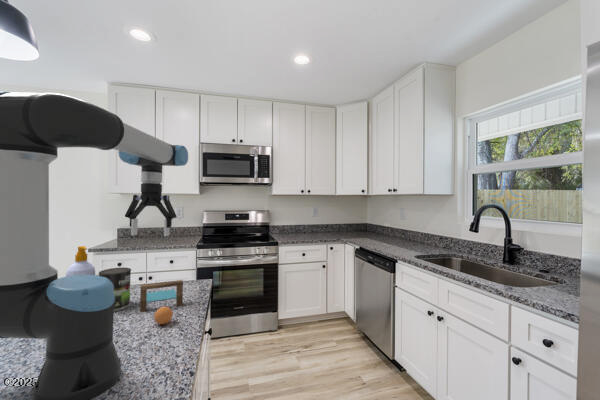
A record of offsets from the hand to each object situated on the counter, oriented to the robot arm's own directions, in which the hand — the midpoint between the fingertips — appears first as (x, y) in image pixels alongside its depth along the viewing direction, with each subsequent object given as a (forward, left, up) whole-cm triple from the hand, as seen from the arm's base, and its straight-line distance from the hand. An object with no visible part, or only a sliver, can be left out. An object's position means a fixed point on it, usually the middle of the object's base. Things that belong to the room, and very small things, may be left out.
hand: (150, 235), depth 108 cm
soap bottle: (-9, +20, -27) cm, 35 cm away
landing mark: (+8, -1, -27) cm, 28 cm away
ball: (-18, -16, -25) cm, 34 cm away
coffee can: (-5, +10, -28) cm, 30 cm away
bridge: (-4, -8, -27) cm, 28 cm away
